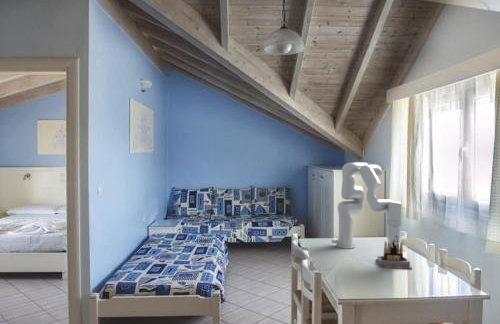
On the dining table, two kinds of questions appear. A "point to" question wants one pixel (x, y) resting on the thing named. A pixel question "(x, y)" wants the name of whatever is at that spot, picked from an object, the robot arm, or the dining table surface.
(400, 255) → the ammunition clip
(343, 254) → the dining table surface
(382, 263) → the pocket board
